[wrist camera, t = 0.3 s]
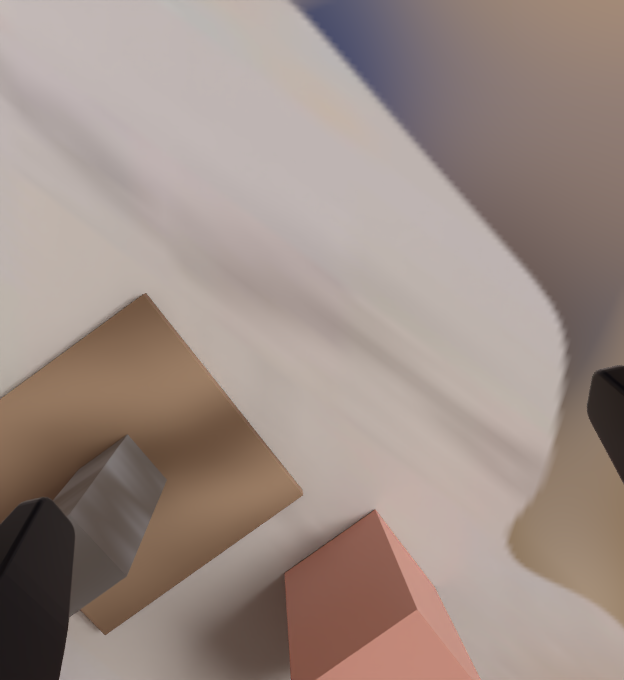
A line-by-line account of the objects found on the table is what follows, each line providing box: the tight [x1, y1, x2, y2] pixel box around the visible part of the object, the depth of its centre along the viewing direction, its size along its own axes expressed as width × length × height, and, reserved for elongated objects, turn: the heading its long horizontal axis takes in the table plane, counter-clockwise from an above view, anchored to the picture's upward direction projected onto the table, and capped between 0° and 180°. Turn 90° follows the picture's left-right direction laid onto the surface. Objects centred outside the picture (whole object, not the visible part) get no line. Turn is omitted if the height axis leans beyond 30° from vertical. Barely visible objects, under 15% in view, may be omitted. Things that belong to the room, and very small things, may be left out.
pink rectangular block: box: [284, 510, 481, 680], centre depth 21 cm, size 5×5×7 cm
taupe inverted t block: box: [0, 293, 303, 635], centre depth 19 cm, size 11×11×7 cm
